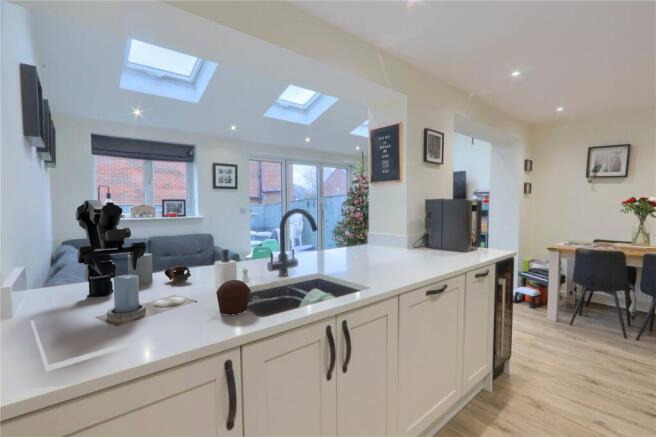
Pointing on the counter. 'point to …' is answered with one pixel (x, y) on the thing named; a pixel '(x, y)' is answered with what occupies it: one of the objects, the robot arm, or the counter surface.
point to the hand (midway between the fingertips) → (119, 271)
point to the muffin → (233, 297)
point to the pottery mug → (177, 274)
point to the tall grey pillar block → (142, 268)
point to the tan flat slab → (145, 310)
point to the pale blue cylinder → (126, 294)
